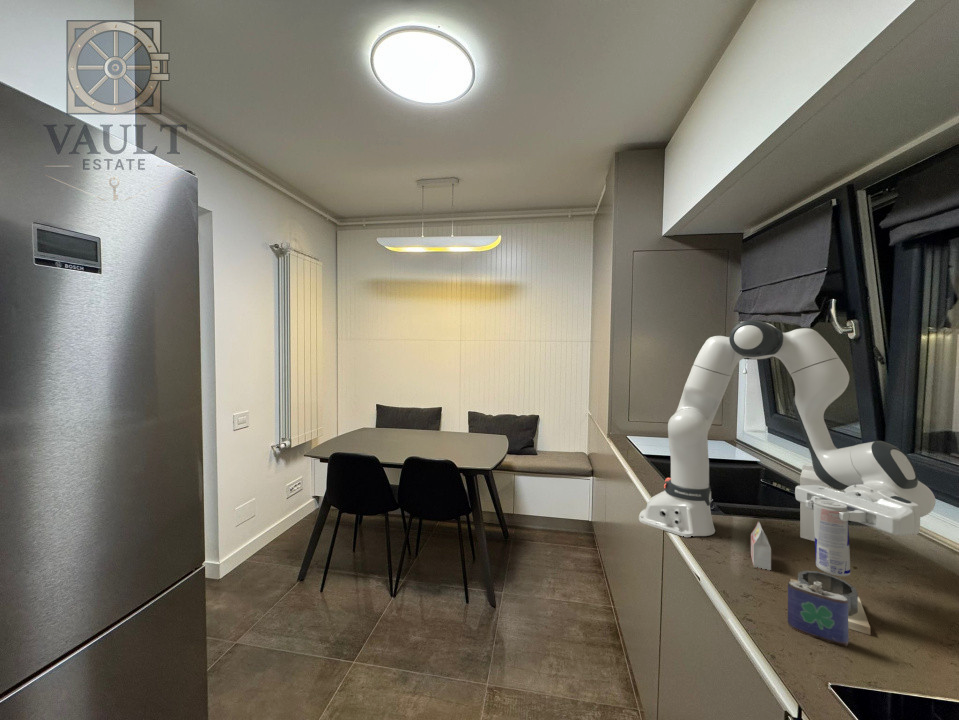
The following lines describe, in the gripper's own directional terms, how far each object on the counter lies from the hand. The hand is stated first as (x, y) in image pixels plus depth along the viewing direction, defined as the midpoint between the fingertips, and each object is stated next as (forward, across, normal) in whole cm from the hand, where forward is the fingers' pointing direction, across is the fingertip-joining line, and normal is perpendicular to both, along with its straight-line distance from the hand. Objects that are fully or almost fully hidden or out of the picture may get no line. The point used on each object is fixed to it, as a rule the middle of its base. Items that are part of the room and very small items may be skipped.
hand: (823, 510), depth 84 cm
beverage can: (-1, +1, +13) cm, 14 cm away
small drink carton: (-4, -18, +22) cm, 29 cm away
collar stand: (-1, 0, +22) cm, 22 cm away
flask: (+10, +6, +22) cm, 25 cm away
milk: (-33, -25, +22) cm, 47 cm away
